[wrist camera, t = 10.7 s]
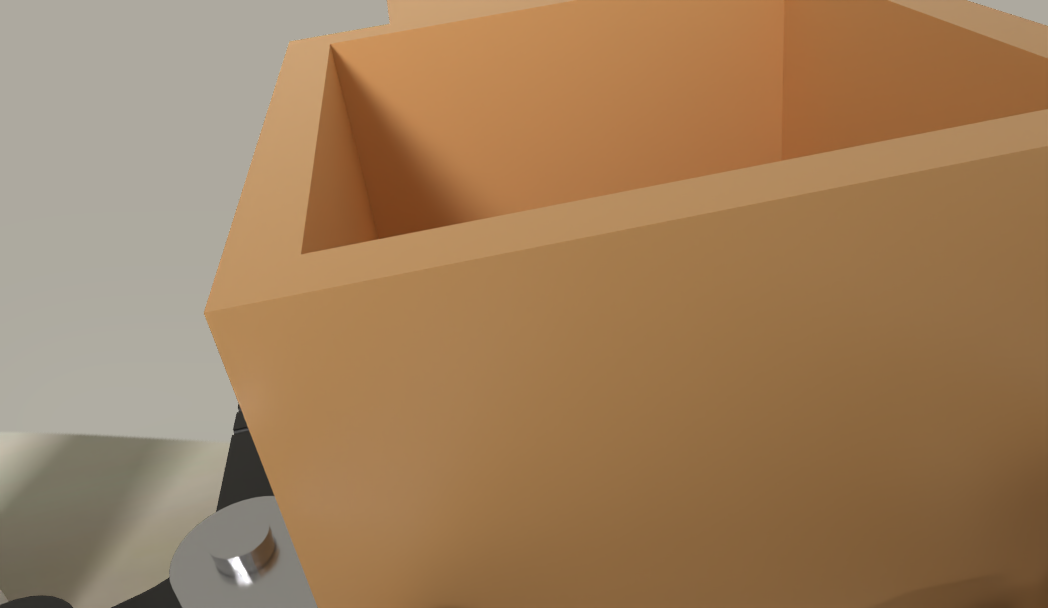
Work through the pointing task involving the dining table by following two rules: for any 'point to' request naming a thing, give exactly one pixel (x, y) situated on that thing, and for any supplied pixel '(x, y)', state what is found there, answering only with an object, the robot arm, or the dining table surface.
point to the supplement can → (2, 598)
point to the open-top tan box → (652, 305)
